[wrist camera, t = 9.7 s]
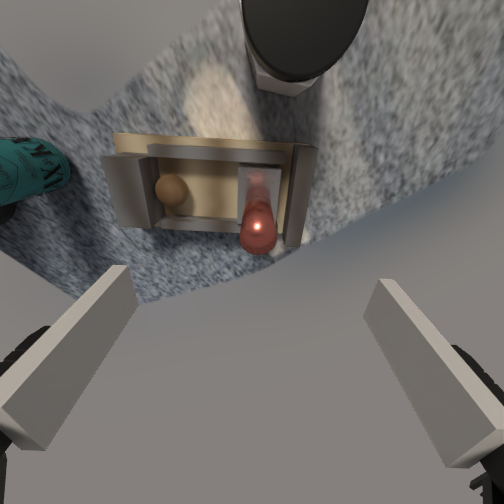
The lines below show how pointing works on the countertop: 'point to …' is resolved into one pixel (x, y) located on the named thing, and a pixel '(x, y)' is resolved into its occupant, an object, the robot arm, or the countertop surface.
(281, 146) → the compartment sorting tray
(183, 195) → the nut
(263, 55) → the jar
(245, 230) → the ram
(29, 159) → the beverage bottle
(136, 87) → the countertop surface
